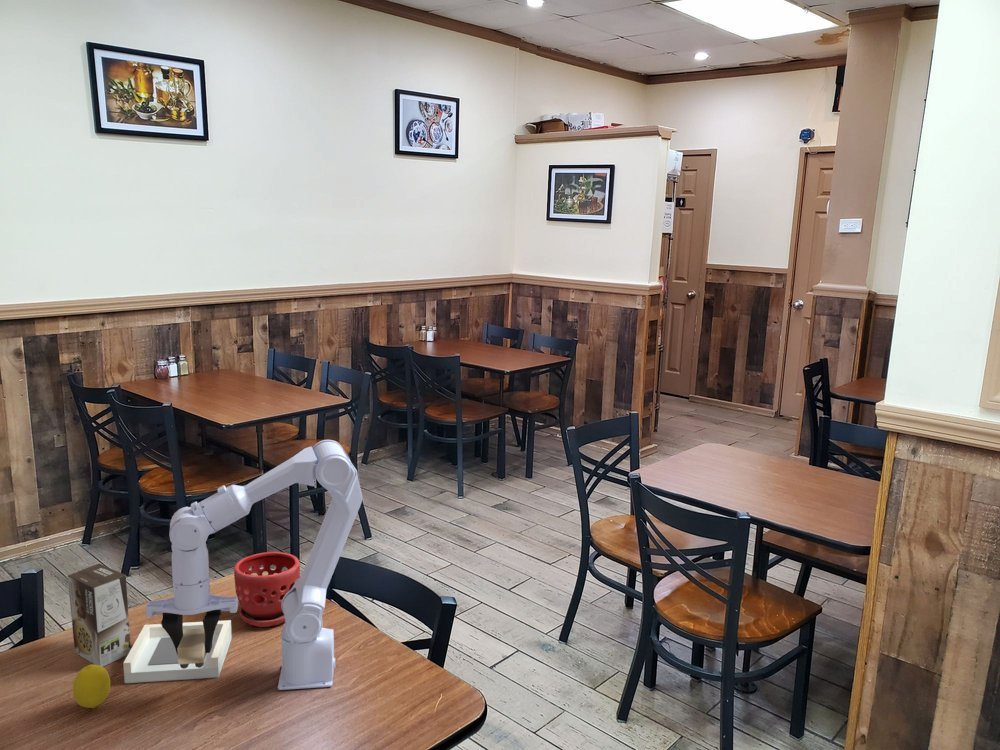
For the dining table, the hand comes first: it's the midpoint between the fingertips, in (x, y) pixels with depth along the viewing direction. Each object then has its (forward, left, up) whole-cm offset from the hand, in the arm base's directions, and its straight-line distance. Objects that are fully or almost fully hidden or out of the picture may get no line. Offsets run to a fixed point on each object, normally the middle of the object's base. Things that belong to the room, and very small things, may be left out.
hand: (194, 650), depth 128 cm
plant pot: (-9, -27, -9) cm, 29 cm away
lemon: (+16, +1, -9) cm, 19 cm away
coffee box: (+20, -16, -9) cm, 27 cm away
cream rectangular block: (0, 0, -2) cm, 2 cm away
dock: (+5, -12, -9) cm, 15 cm away
